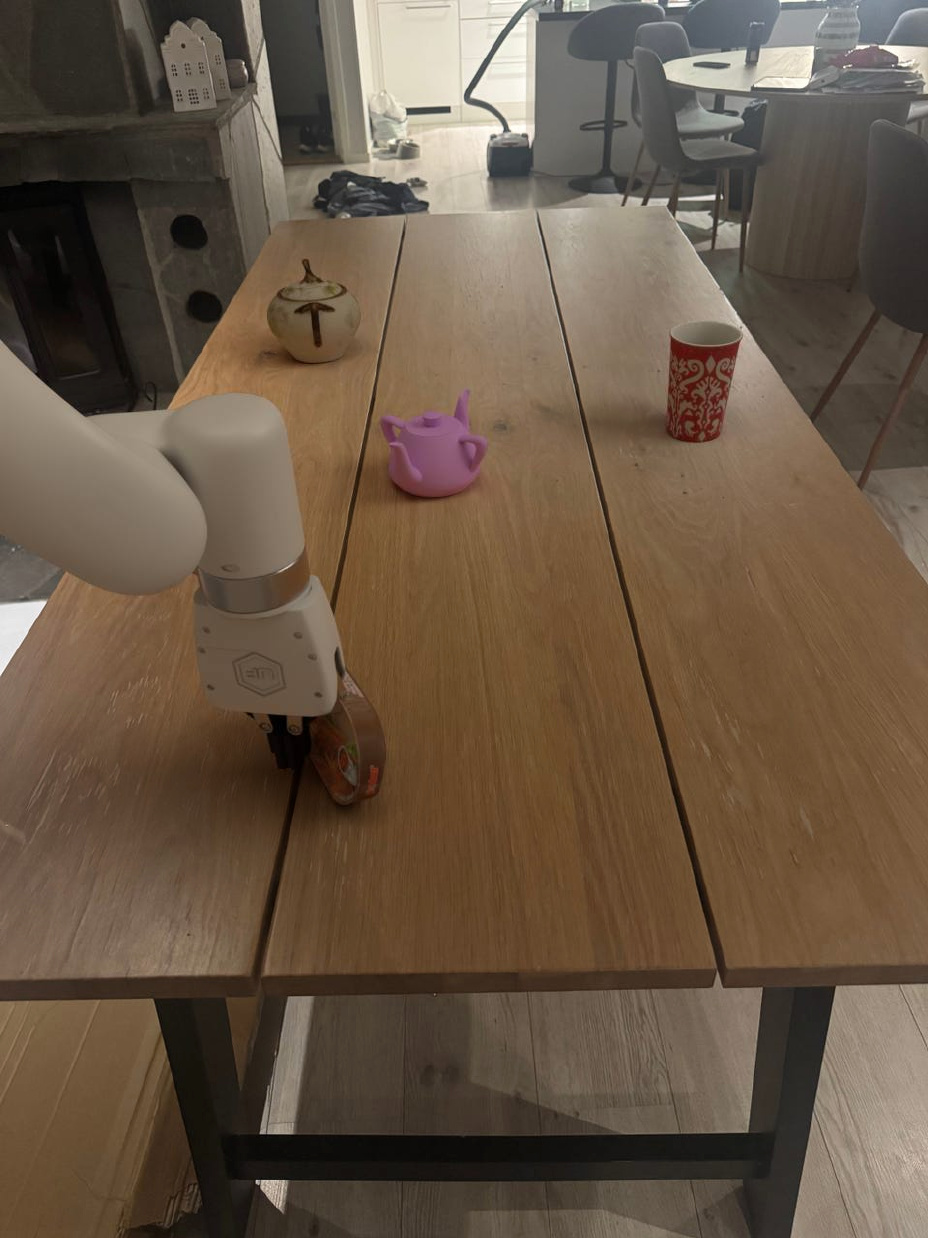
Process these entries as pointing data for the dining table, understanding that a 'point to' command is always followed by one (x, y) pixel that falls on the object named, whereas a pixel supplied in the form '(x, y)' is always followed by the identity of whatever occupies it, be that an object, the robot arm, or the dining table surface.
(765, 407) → the dining table surface
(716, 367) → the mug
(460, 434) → the teapot
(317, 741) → the tin
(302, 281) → the sugar bowl
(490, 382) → the dining table surface
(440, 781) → the dining table surface
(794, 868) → the dining table surface
